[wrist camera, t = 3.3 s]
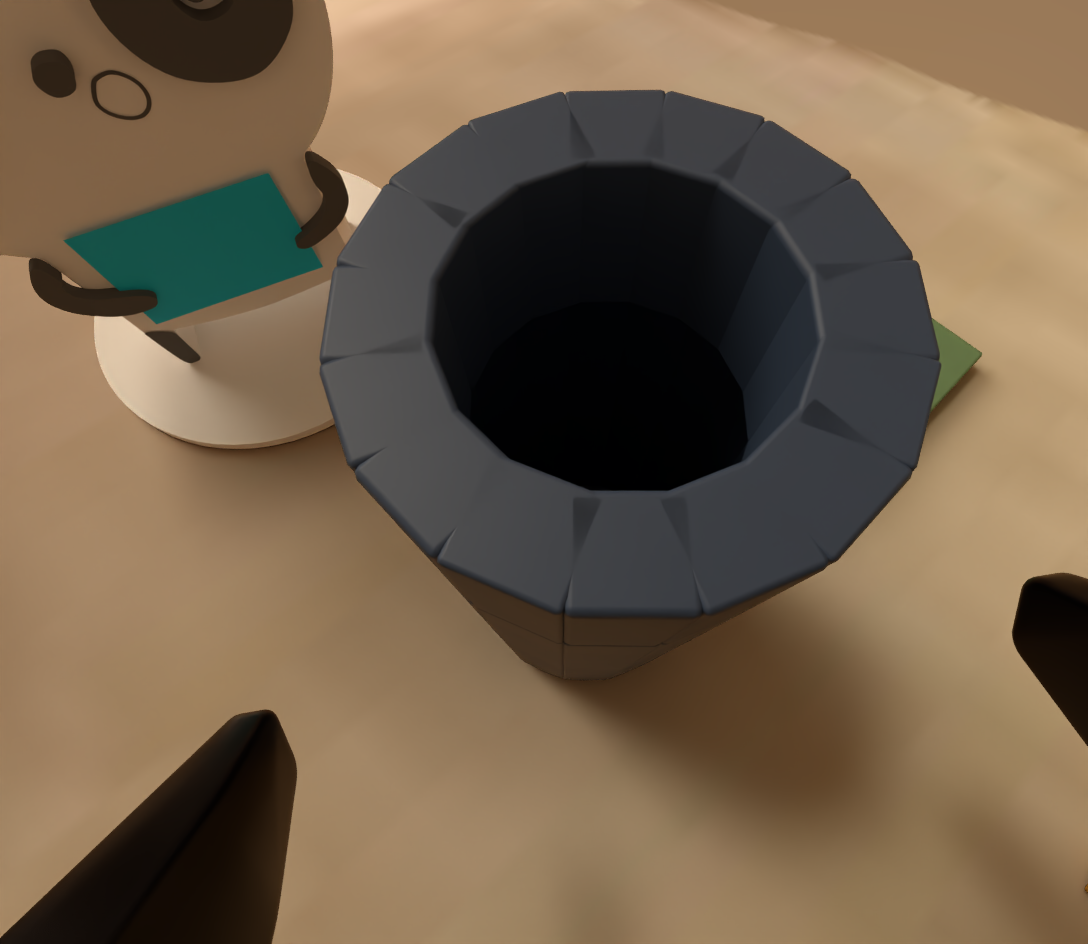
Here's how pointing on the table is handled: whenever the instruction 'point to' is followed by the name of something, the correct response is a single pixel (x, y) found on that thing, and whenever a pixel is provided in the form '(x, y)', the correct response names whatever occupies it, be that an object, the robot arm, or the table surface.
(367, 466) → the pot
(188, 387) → the white stand
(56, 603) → the table surface
